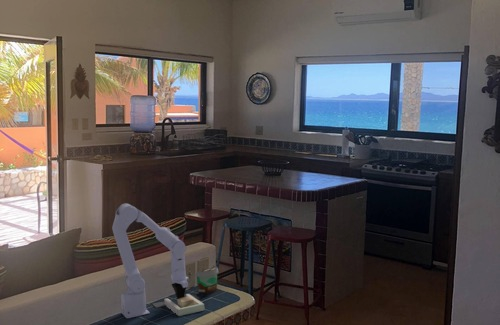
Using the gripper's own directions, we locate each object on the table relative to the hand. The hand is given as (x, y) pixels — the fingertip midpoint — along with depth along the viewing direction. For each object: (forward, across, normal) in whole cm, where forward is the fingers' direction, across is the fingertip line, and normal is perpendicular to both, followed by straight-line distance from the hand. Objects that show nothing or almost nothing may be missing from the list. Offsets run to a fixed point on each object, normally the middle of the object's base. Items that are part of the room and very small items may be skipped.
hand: (180, 300), depth 223 cm
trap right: (+2, +5, -8) cm, 9 cm away
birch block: (+2, -5, 0) cm, 6 cm away
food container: (+2, +9, -18) cm, 20 cm away
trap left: (+2, +5, +8) cm, 9 cm away
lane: (+2, -3, 0) cm, 4 cm away
